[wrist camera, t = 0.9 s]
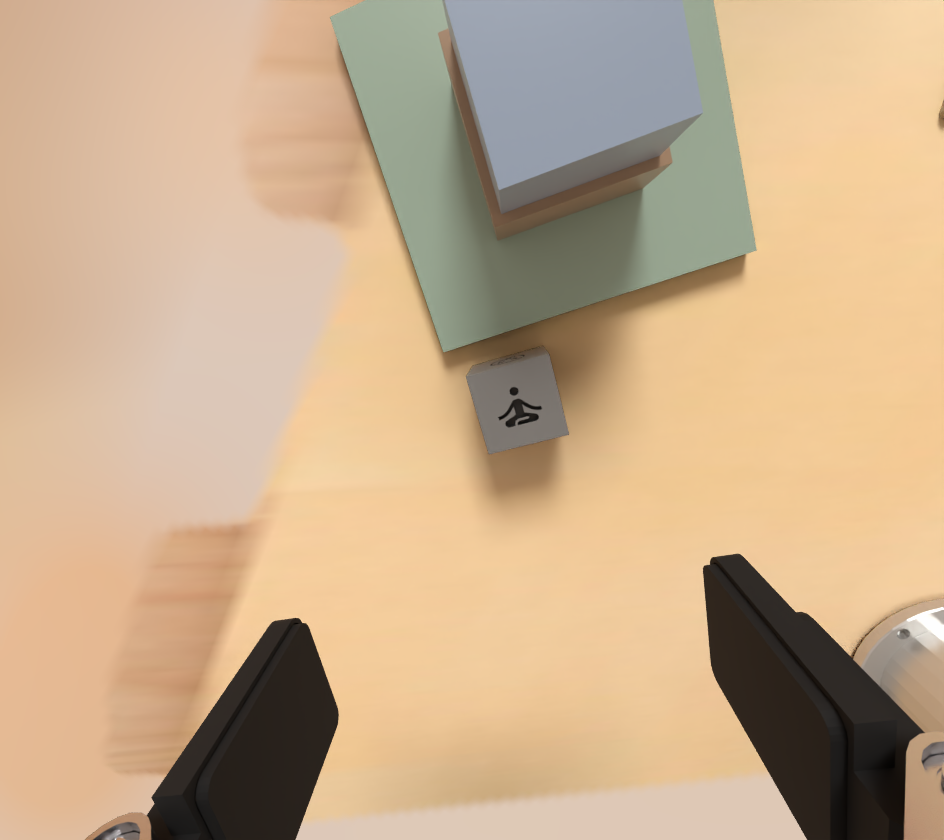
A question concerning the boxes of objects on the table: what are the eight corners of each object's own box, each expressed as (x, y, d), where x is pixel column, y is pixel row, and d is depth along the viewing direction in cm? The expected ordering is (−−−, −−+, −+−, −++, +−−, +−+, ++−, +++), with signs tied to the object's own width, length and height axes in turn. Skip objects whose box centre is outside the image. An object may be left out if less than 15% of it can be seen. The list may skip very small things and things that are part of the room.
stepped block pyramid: (678, -129, 24) (820, -493, 13) (746, 252, 28) (895, 220, 17) (337, 29, 27) (220, -157, 16) (445, 350, 31) (411, 375, 20)
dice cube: (492, 431, 32) (488, 454, 28) (472, 365, 31) (465, 376, 26) (560, 414, 32) (569, 434, 27) (542, 345, 30) (549, 353, 26)
